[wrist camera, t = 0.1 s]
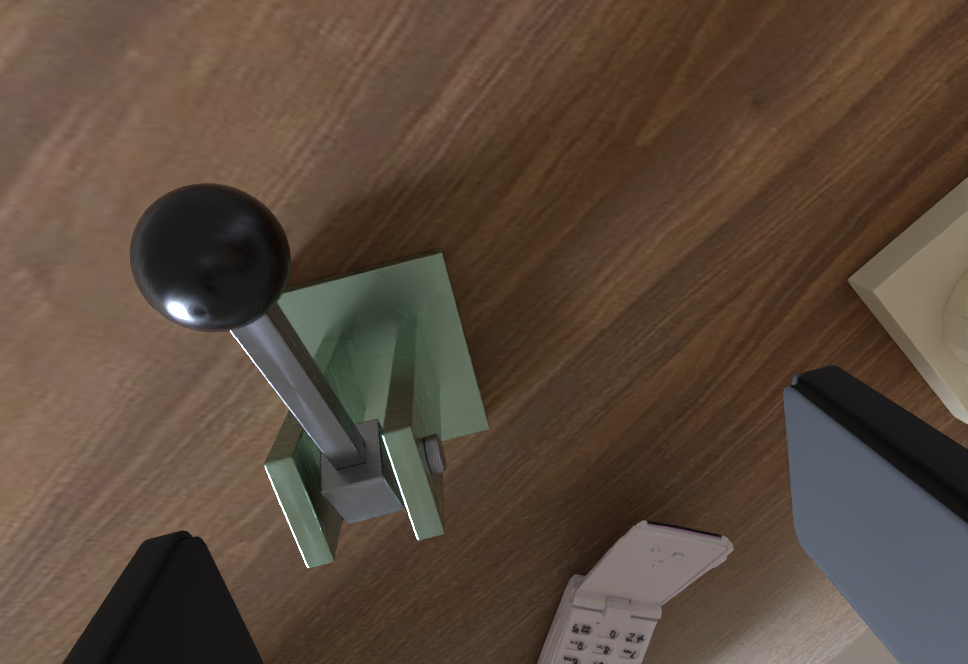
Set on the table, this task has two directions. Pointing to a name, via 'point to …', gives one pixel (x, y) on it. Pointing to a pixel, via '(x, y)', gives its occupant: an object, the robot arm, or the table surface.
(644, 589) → the mobile phone
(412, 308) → the bracket
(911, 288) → the button block
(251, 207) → the lever
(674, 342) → the table surface
